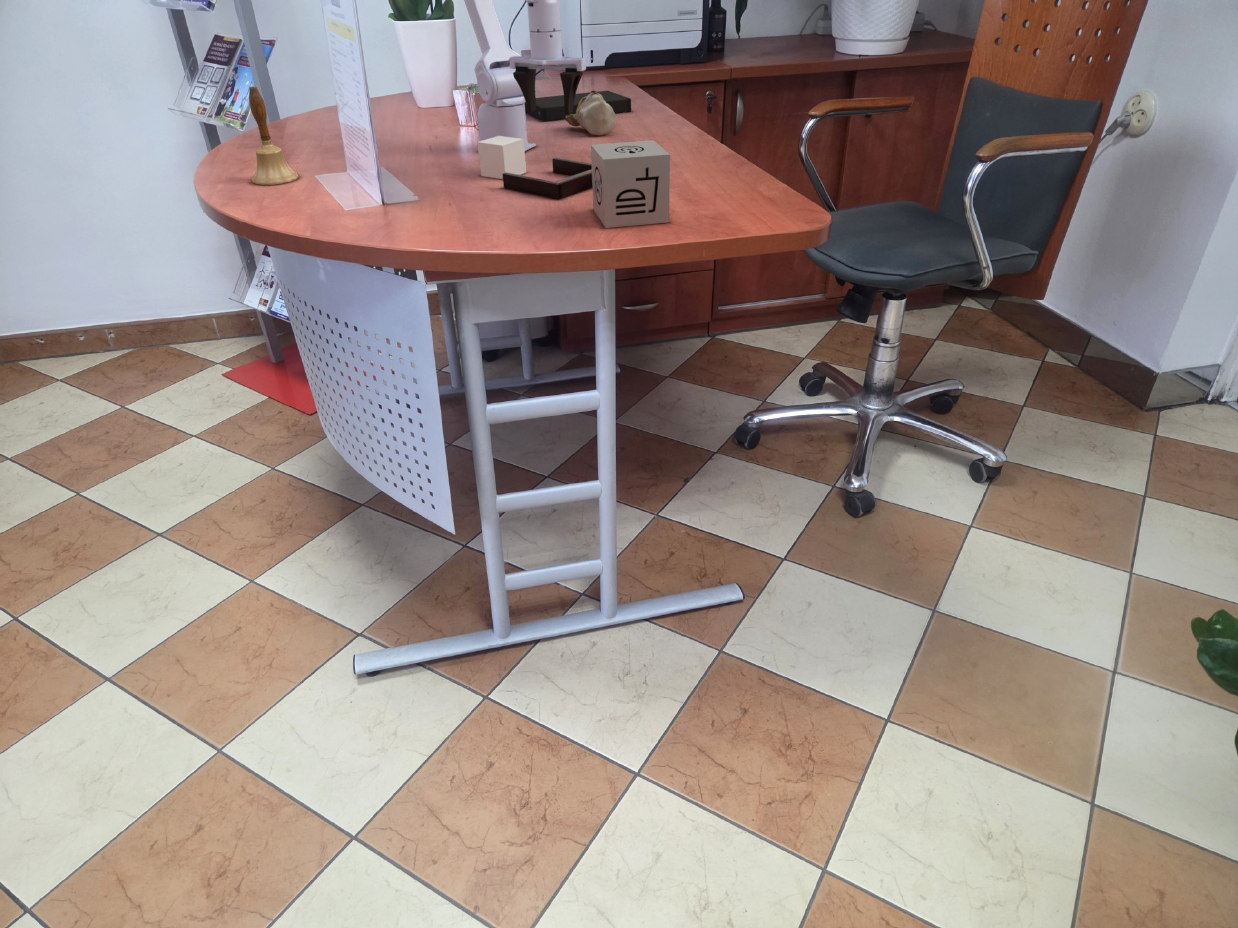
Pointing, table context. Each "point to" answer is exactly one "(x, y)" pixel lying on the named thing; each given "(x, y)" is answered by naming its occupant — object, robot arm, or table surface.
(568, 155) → the table surface
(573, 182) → the frame
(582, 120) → the ceramic sculpture
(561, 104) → the external hard drive
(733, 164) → the table surface
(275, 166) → the hand bell
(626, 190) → the icon cube
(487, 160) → the white cube
